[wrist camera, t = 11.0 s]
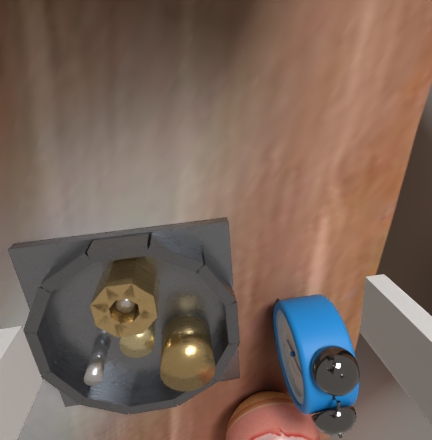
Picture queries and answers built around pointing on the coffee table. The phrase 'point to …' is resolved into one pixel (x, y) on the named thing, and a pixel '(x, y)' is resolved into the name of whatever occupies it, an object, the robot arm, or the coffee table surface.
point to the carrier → (136, 344)
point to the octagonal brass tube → (126, 297)
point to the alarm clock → (317, 361)
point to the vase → (270, 419)
